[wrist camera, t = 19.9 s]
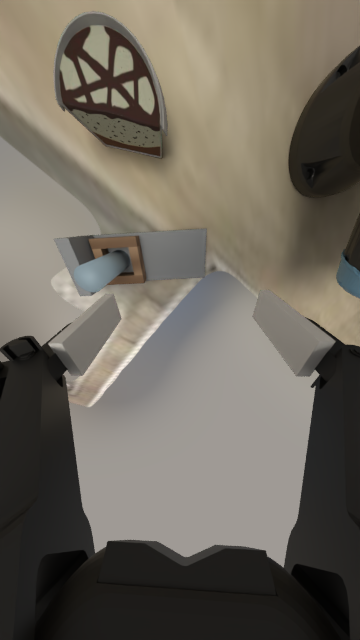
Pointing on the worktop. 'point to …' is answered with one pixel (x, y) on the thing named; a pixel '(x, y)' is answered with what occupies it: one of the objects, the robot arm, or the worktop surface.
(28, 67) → the worktop surface
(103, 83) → the food container
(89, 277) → the dowel
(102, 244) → the socket block
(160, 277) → the board
